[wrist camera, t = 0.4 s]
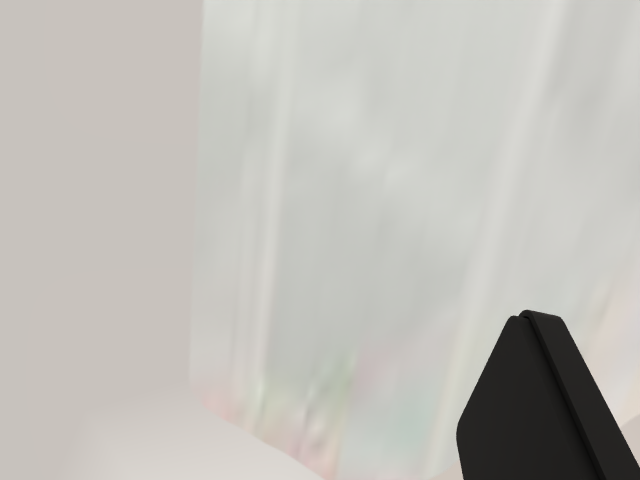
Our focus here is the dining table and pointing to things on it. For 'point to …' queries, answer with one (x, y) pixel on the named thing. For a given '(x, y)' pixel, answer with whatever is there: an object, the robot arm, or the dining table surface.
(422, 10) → the dining table surface
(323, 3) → the dining table surface
